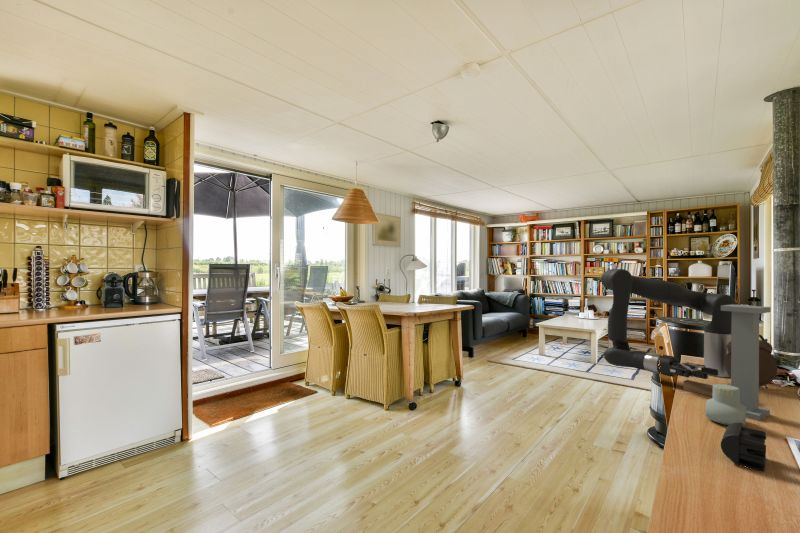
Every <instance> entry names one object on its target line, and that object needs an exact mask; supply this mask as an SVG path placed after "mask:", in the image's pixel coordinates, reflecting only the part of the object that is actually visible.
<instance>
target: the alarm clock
mask: <svg viewBox="0 0 800 533" xmlns="http://www.w3.org/2000/svg"><path fill="white" fill-rule="evenodd" d="M727 349H728V354H727V355H726V358H725V369H726V371H727V373H728V374H729V375H730V376H731V341H730V342H729V343H728V344H727ZM773 349H774V348H773V345H772V344H771V343H770V342H768V338H764V337H763V335H762V334H760V333H759V388H761V387H765V389H768V388H769V387H768V386H767V385H769V384H771V383H772V382H773V381H774V379H775V377H776V376H777V374H778V363H777V360H776V358H775V357H774V356H773V354H772V353H773Z"/></svg>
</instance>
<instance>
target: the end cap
mask: <svg viewBox="0 0 800 533" xmlns="http://www.w3.org/2000/svg"><path fill="white" fill-rule="evenodd" d="M766 440H767V432H766V431H762V430H759V429H753V428H749V427H746V426H744V425H743V423H733V424H730V425H727V426H726V428H725V431H724V433H723V435H722V438H721V441H720V448H721V449H720V450H721V451H722V453H723V454H724V455H725V457H727V458H728V459H729V460H730V461H731V462H732V463H734V464H735V465H737V464H738V465H737V466H739V465H742V466H741V467H743V466H746V467H748V468H747V469H750V468H751V469H750V470H753V469H754V471H757V472H760V471H761V473H764V472H765V470H766V469H765V468H766V460H767V456H766V455H767V445H766V444H765V443H766ZM746 467H745V468H746Z"/></svg>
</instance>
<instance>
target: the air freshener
mask: <svg viewBox="0 0 800 533" xmlns="http://www.w3.org/2000/svg"><path fill="white" fill-rule="evenodd" d="M730 385H731V384H723V383H715V384H713V396H711V397H712V398H708V399H707V400H706V403H705V416H706V417H707V418H708V419H710V420H712V421H713V422H715V423H718V424H720V425H721V424H722V425H724V426H725V425H726V426H729V425H730V424H733V423H743V426H745V425H746V424H747V418H746V407H745V406H744V405H742V404H740V390H739V389H738V388H737V387H734V386H730Z"/></svg>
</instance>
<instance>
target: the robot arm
mask: <svg viewBox="0 0 800 533" xmlns="http://www.w3.org/2000/svg"><path fill="white" fill-rule="evenodd" d="M600 282H601V285H603V287H604V288H605V289H607V290H609V291H612V297H613V298H612V306H611V309H610V312H609V315H608V317H607V318H608V319H607V338H608V339H609V341H611V342H612V347H609V348H607V349H606V350H604V353H603V358H604V360H605V361H606V362H607V363H608V364H610V365H612V366H616V367H622V368H623V367H624V368H625V367H626V368H633V369H638V370H642V371H647V372H649V373H653V374H658V375H661V374H663V375H662V376H666V377H667V376H668V377H672V378H673V377H676V376H679V377H684V378H698V379H703V380H707V379H709V376H714V377H721V378H731V376H730V375H729V374H728V373H727V371H726V369H725V358H726V355H727V354H728V349H727V344H728V343H729V342H730V341H731V325H732V311H721V306H722V305H732V304H733V305H738V304H737V302H736V300H735V298H734V297H733V296H731V295H729V294H725V293H724V294H723V293H712V292H701V291H695V290H692V289H689V288H687V287H686V286H683V285H681V284H679V283H675V282H672V281H668V280H663V279H659V278H650V277H649V278H648V277H639V276H635V275H632V273H630V272H629V270H627V269H624V268H612V269H608V270H606V271H605V272H603V273H602V275H601V277H600ZM631 294H633V295H637V296H639V297H642V298H645V299H648V300H651V301H653V302H656V303H657V302H659V303H662V304H666V305H669V306H670V305H672V306H678V307H686V308H689V309H693V310H695V311H699V312H701V313H704V314H706V315H710V316H711V321H710V322H709V323H706V324H704V327H703V364H699V363H693V362H689V361H686V362H685V361H684V362H683V361H682V363H680V362H679V360H678V358H677V357H676V356H674V355H673V356H672V355H667V354H663V356H661V354H662V353H656V352H649V351H648V352H646V351H641V350H631V349H630V345H629V344H630V343H629V340H628V312H629V304H630V299H631ZM659 360H660V365H659V366H658V364H659ZM660 366H661V367H660ZM659 367H660V369H659ZM660 372H661V374H660Z"/></svg>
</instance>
